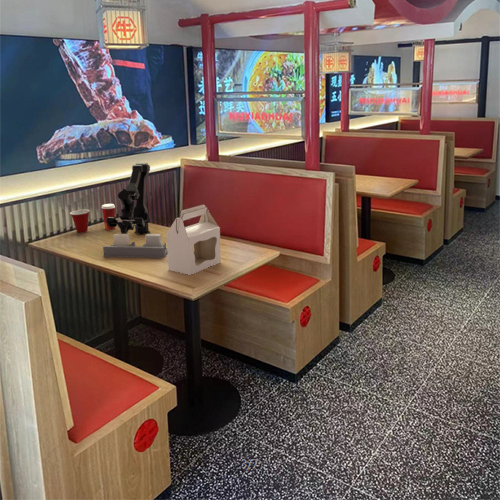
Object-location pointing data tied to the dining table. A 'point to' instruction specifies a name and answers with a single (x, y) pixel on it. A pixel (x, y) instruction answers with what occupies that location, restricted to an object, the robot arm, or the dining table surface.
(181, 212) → the gable box
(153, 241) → the white box
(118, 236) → the cream block
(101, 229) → the dining table surface
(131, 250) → the grey compartment tray
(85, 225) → the plastic cup
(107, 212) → the paper cup
